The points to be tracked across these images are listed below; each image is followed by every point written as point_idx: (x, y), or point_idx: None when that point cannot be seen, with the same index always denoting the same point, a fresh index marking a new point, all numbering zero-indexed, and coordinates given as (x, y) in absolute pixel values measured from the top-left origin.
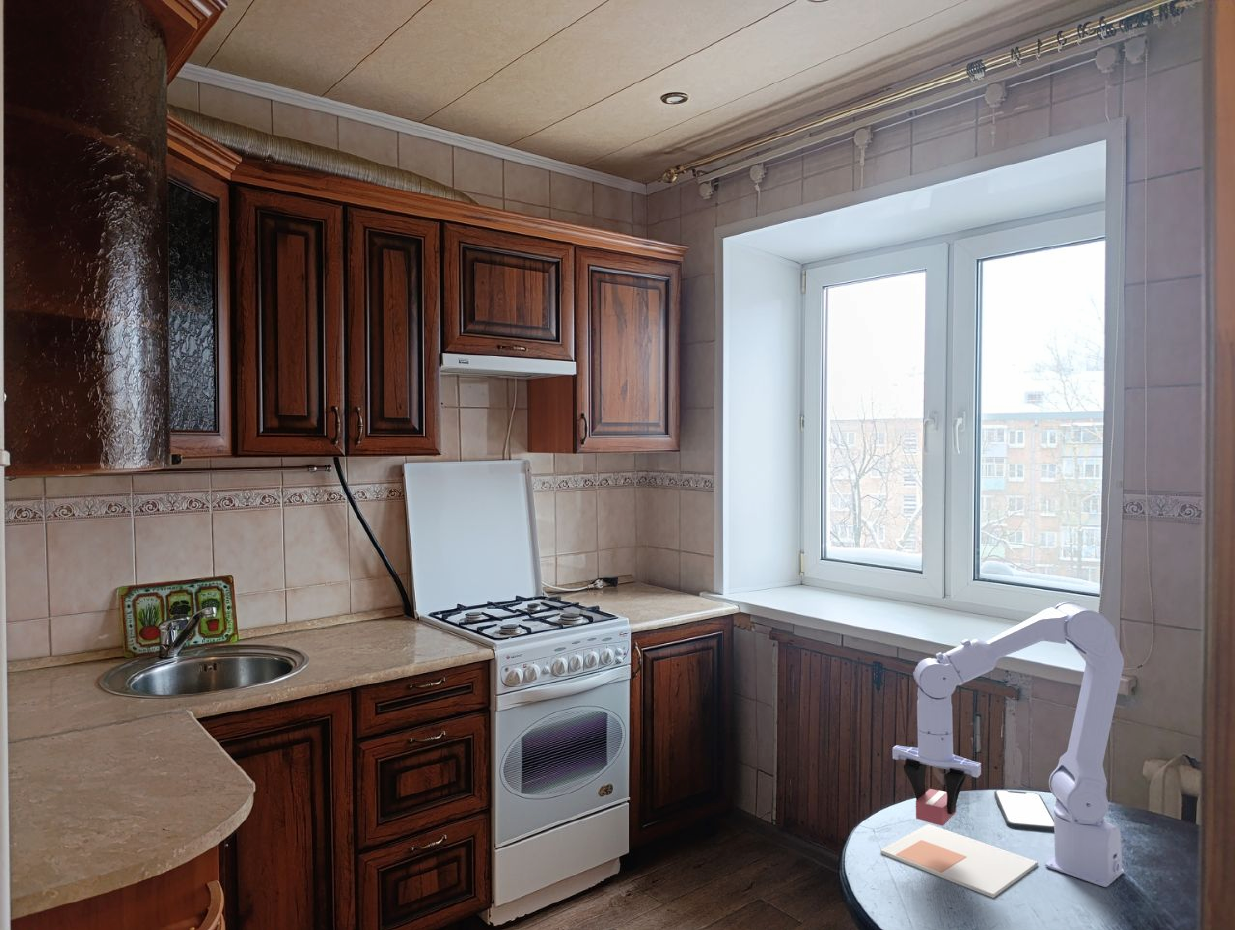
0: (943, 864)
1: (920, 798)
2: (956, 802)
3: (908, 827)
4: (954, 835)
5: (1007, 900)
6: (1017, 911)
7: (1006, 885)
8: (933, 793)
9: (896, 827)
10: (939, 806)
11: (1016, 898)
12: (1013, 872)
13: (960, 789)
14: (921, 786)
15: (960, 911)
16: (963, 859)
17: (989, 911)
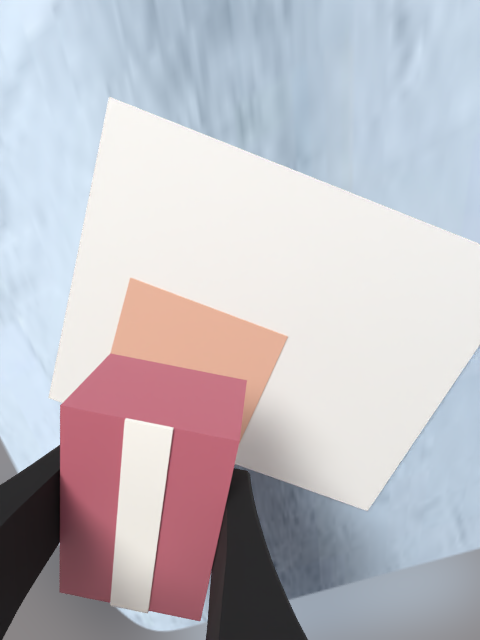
0: None
1: (67, 557)
2: (254, 506)
3: (53, 148)
4: (227, 171)
5: (398, 500)
6: (418, 535)
7: (403, 454)
8: (105, 470)
9: (17, 173)
10: (182, 610)
11: (422, 484)
12: (432, 381)
13: (279, 586)
14: (20, 566)
15: (294, 571)
16: (280, 357)
17: (355, 553)
